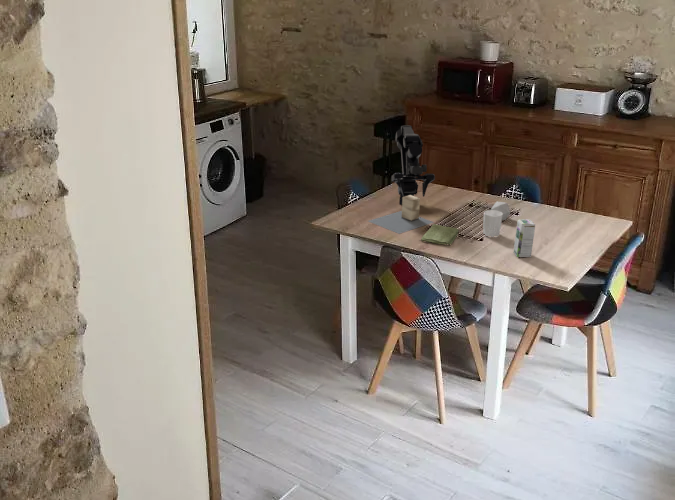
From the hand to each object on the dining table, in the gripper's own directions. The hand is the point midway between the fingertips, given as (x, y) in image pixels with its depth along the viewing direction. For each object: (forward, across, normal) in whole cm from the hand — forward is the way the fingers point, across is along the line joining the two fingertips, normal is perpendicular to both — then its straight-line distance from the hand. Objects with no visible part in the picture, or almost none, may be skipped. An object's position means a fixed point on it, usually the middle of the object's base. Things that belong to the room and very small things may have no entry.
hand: (413, 196), depth 314 cm
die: (+10, +41, +2) cm, 42 cm away
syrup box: (+31, +35, -33) cm, 57 cm away
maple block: (+9, -1, +5) cm, 10 cm away
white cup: (+20, +30, -14) cm, 38 cm away
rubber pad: (+12, -6, +3) cm, 14 cm away
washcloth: (+21, +8, -12) cm, 26 cm away
